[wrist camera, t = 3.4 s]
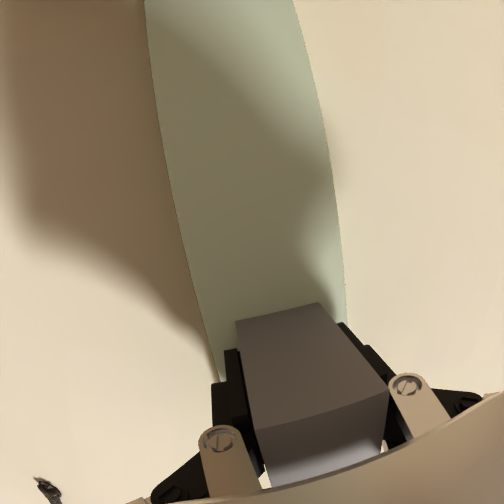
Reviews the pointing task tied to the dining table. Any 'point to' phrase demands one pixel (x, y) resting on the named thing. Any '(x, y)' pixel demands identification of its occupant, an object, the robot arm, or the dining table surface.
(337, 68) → the dining table surface
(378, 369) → the robot arm
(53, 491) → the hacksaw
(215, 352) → the sage green plank
